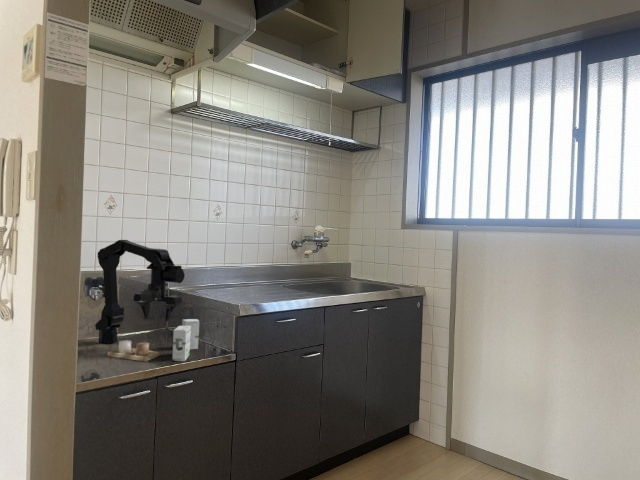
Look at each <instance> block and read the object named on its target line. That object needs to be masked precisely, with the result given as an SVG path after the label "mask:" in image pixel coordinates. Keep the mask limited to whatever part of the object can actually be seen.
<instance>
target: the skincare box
mask: <svg viewBox="0 0 640 480" xmlns="http://www.w3.org/2000/svg"><path fill="white" fill-rule="evenodd" d="M181 322H182V324H181V326H191V334H190V350H195V349H196V350H198V349H199V334H200V320H199V319H196V318H187V319H185V318H183V319H182V321H181Z"/></svg>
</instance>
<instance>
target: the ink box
mask: <svg viewBox="0 0 640 480" xmlns="http://www.w3.org/2000/svg"><path fill="white" fill-rule="evenodd" d="M172 334H173V338H172V339H173V341H172V342H173V343H172V358H171V360H172V361H174V362H185V361H186V360H187V359H188V358H189V356H190V354H191V349H190V334H191V326H182V325H179V326H177V327H176V328H175V329H173V333H172Z"/></svg>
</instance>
